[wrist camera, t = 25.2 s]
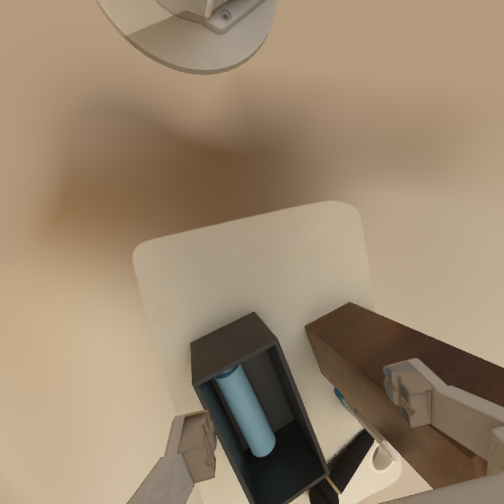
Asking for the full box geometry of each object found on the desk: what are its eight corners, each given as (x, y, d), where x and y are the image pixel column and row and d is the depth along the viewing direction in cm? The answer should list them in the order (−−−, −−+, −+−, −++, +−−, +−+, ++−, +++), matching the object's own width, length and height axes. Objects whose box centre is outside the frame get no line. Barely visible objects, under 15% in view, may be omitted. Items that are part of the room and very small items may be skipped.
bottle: (214, 336, 39) (196, 355, 35) (234, 336, 36) (217, 356, 33) (258, 427, 42) (245, 453, 39) (279, 432, 40) (268, 460, 36)
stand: (304, 326, 43) (487, 472, 17) (349, 301, 45) (574, 398, 19) (321, 372, 44) (511, 570, 19) (364, 347, 47) (588, 492, 21)
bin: (190, 342, 38) (191, 384, 27) (254, 311, 40) (277, 338, 30) (241, 452, 41) (259, 524, 31) (297, 417, 44) (330, 474, 34)
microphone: (363, 404, 51) (298, 485, 46) (381, 414, 46) (310, 509, 40) (380, 425, 51) (317, 510, 45) (401, 438, 46) (332, 537, 40)
